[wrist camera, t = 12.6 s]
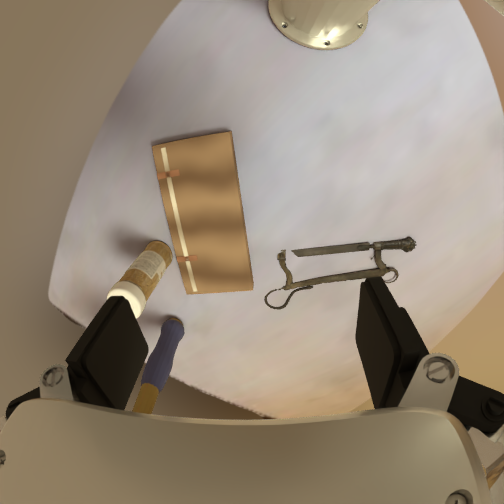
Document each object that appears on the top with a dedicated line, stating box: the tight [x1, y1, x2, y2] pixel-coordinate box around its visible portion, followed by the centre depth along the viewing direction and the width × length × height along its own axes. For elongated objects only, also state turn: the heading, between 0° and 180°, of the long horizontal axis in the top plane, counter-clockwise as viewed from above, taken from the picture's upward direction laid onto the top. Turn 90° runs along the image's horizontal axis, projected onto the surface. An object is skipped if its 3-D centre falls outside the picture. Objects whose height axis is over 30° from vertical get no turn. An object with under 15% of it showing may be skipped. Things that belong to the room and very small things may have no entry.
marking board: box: [152, 131, 254, 294], centre depth 38 cm, size 22×10×2 cm, turn 7°
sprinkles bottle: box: [107, 241, 172, 319], centre depth 36 cm, size 5×5×13 cm
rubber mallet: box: [132, 318, 184, 414], centre depth 35 cm, size 12×8×30 cm, turn 85°
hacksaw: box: [264, 237, 416, 309], centre depth 42 cm, size 24×10×2 cm, turn 98°
